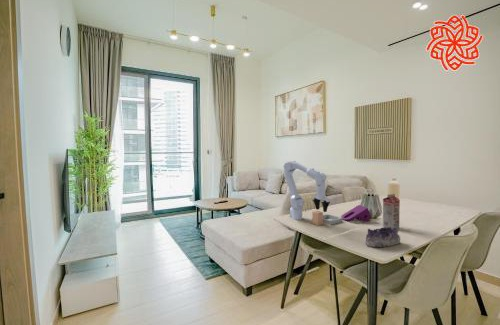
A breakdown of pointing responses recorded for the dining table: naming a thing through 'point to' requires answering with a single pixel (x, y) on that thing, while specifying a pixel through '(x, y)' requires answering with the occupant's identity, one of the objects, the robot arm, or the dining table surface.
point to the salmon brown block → (317, 217)
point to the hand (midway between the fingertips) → (321, 210)
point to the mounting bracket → (357, 214)
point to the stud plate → (318, 225)
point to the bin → (335, 218)
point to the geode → (382, 237)
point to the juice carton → (391, 211)
